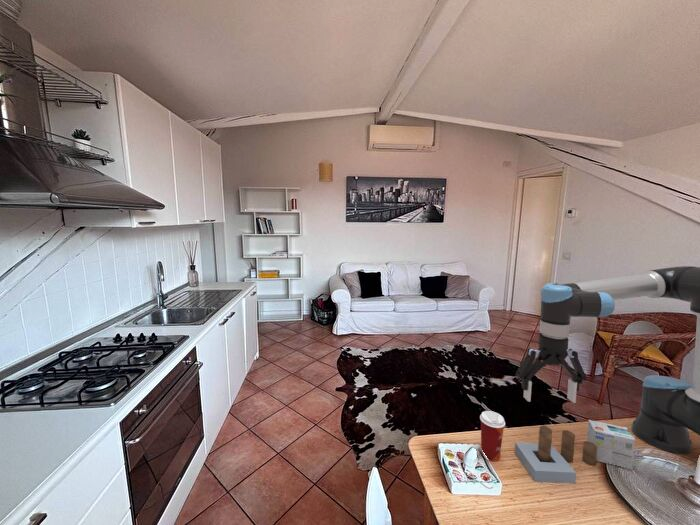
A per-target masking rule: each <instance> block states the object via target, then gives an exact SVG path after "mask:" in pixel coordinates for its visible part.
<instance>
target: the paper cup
mask: <svg viewBox="0 0 700 525" xmlns="http://www.w3.org/2000/svg"><path fill="white" fill-rule="evenodd" d="M479 420H480V442H481V444H480V446H481V447H480V448H482V450H483V452H484V453H485V455H486V456H487V458H488V459H489V460H488V461H490V462H498V461H499V460H500V459H501V458H500V457H501V451H502V444H503V436H504V428H505V426H506V421H505V418H504V416H502V415H501V414H500V413H498V412H495V411H492V410H484V411H482V412H481V414H480V415H479Z"/></svg>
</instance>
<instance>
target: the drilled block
mask: <svg viewBox="0 0 700 525" xmlns="http://www.w3.org/2000/svg"><path fill="white" fill-rule="evenodd" d="M514 443H515V444H514V454H515V455H516V456H517V458H518V459H519V460H520V462H521V463H522V465H523V466H524V468H525V469H526V471H527V473H528V474H529V475H530V477H531V478H532V480H533V481H534V482H538V483H539V482H543V483H562V484H576V480H577V472H576V470H575V469H574V468H573V467H572V465H571V464H569V462H567V461H566V460H565V459H564V458H563V457H562V456H561V452H559V451H558V450H557V449H556V448H555V446H554V445H553V444H552V443H551V456H550V462H540V461H539V459H538V458H537V456H538V443H539V442H538V443H537V442H535V443H533V442H532V443H531V442H514Z"/></svg>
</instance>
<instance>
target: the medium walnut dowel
mask: <svg viewBox="0 0 700 525" xmlns="http://www.w3.org/2000/svg"><path fill="white" fill-rule="evenodd" d="M561 431H562V432H561V433H562V435H561V444H560V445H561V446H560V455H561V456H562V457H563V458H564V459H565V460H566V461H567V463H570V464H571V463H573V462H574V454H575V443H576V442H575V441H576V434H575V433H574V432H572V431H570V430H568V429H567V430H566V429H563V430H561Z"/></svg>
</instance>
